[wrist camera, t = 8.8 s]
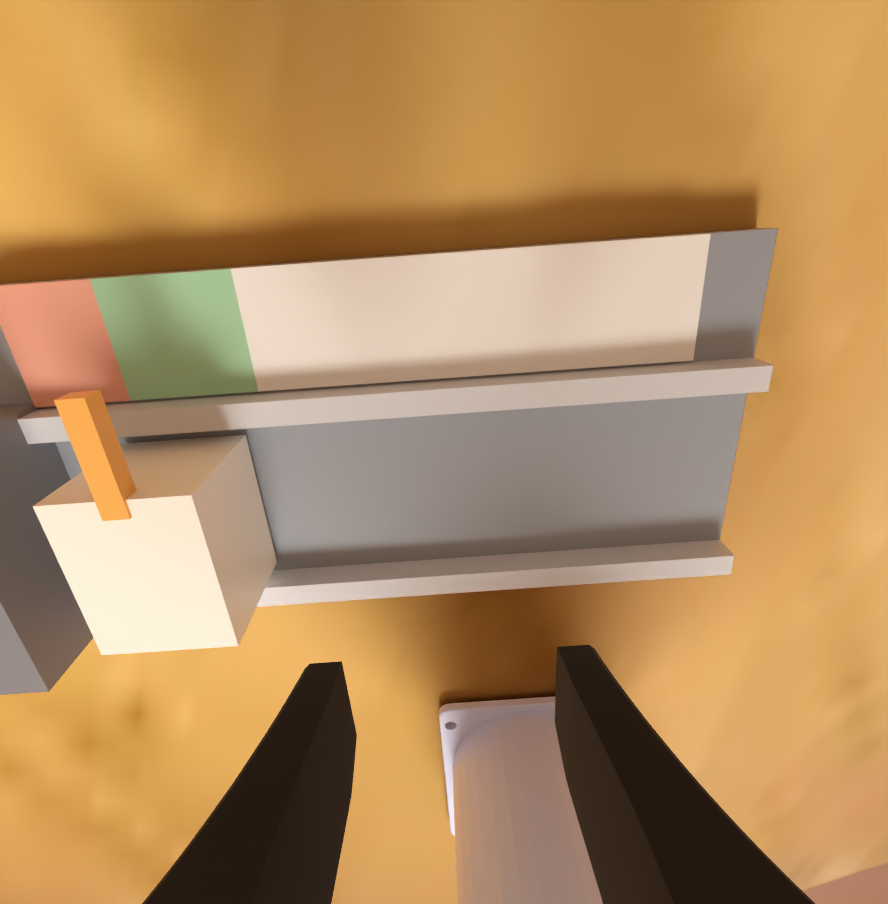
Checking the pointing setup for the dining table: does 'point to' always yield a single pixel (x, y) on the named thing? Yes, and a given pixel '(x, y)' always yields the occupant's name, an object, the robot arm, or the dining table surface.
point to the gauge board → (403, 414)
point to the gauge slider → (158, 535)
